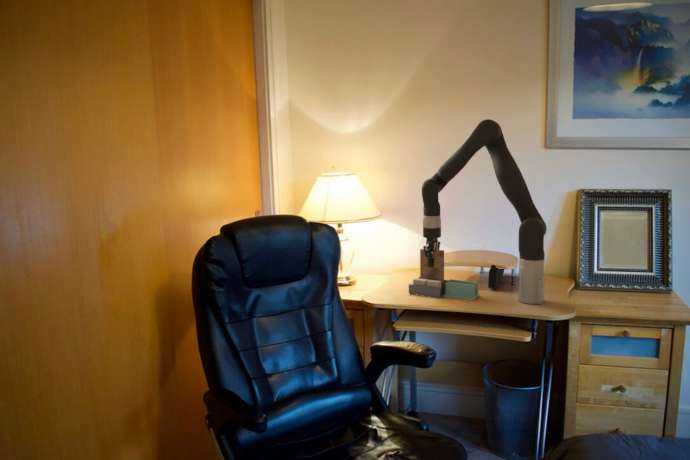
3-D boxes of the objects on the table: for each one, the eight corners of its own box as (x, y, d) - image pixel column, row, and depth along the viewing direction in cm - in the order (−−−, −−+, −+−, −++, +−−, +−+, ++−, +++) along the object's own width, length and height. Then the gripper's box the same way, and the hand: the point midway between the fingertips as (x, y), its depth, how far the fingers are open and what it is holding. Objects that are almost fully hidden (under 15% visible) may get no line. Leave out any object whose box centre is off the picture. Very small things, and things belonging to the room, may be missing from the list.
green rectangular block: (479, 295, 213) (479, 281, 212) (473, 300, 207) (473, 286, 206) (451, 292, 220) (451, 278, 219) (444, 296, 213) (444, 282, 212)
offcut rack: (449, 291, 221) (449, 280, 220) (440, 298, 211) (440, 286, 211) (419, 287, 228) (419, 276, 227) (408, 293, 219) (408, 282, 218)
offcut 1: (428, 290, 219) (428, 279, 218) (425, 292, 216) (425, 280, 216) (416, 289, 222) (416, 278, 221) (413, 291, 219) (413, 279, 219)
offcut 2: (441, 292, 216) (441, 281, 215) (438, 294, 213) (438, 282, 213) (429, 291, 219) (429, 279, 218) (426, 292, 216) (426, 281, 215)
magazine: (495, 271, 216) (504, 239, 242) (487, 271, 218) (496, 238, 243) (496, 306, 224) (504, 272, 249) (488, 306, 225) (497, 271, 250)
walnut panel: (444, 282, 219) (444, 250, 217) (442, 283, 218) (442, 251, 216) (422, 280, 225) (422, 248, 223) (420, 281, 223) (420, 249, 221)
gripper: (434, 228, 210) (434, 270, 212) (446, 224, 222) (446, 263, 224) (417, 227, 214) (417, 268, 216) (429, 223, 226) (430, 262, 228)
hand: (432, 266), depth 220 cm, fingers closed on walnut panel, 2 cm apart
